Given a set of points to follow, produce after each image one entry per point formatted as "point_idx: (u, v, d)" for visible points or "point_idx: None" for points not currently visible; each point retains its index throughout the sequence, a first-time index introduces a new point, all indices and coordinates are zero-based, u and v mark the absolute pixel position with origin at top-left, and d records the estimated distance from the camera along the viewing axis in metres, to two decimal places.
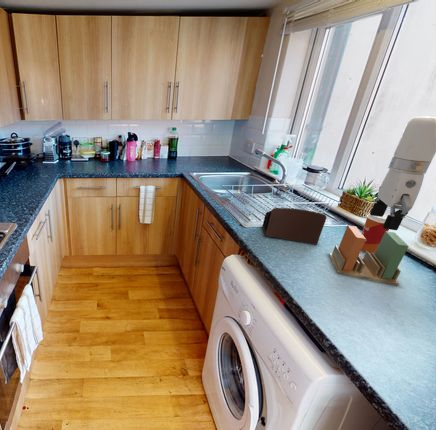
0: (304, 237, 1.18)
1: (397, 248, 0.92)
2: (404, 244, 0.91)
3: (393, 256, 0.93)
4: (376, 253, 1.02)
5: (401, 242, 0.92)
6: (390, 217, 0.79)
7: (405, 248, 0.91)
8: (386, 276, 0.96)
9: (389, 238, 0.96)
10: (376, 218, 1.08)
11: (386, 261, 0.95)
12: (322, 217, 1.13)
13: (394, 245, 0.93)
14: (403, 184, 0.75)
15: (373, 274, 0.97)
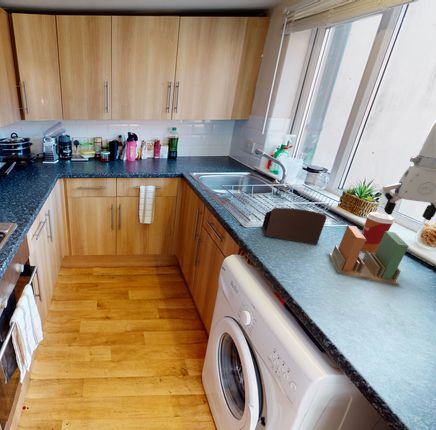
0: (304, 237, 1.18)
1: (397, 248, 0.92)
2: (404, 244, 0.91)
3: (393, 256, 0.93)
4: (376, 253, 1.02)
5: (401, 242, 0.92)
6: None
7: (405, 248, 0.91)
8: (386, 276, 0.96)
9: (389, 238, 0.96)
10: (376, 218, 1.08)
11: (386, 261, 0.95)
12: (322, 217, 1.13)
13: (394, 245, 0.93)
14: (404, 173, 0.89)
15: (373, 274, 0.97)
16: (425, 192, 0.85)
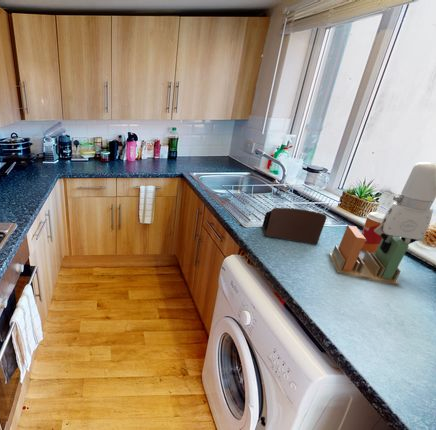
0: (304, 237, 1.18)
1: (397, 248, 0.92)
2: (404, 244, 0.91)
3: (393, 256, 0.93)
4: (377, 253, 1.02)
5: (401, 242, 0.92)
6: None
7: (405, 248, 0.91)
8: (386, 276, 0.96)
9: None
10: (376, 218, 1.08)
11: (386, 261, 0.95)
12: (322, 217, 1.13)
13: (394, 245, 0.93)
14: (388, 210, 0.94)
15: (373, 274, 0.97)
16: (407, 229, 0.90)
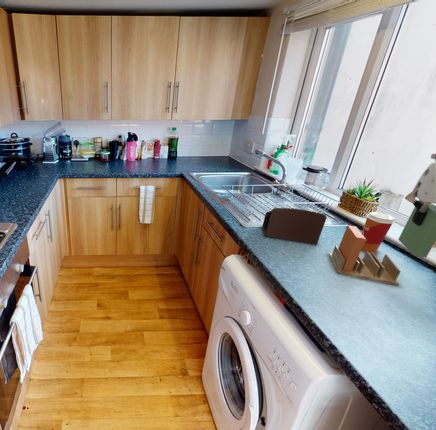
0: (304, 237, 1.18)
1: (435, 218, 0.75)
2: None
3: (429, 229, 0.76)
4: (406, 228, 0.85)
5: None
6: None
7: None
8: (420, 254, 0.79)
9: None
10: (376, 218, 1.08)
11: (420, 235, 0.78)
12: (322, 217, 1.13)
13: (431, 214, 0.76)
14: (423, 172, 0.77)
15: (373, 274, 0.97)
16: None
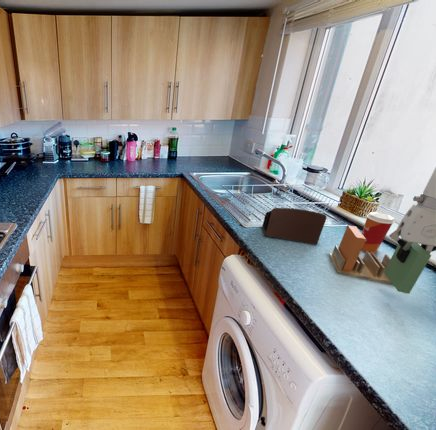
0: (304, 237, 1.18)
1: (417, 258, 0.78)
2: (426, 253, 0.77)
3: (412, 267, 0.79)
4: (391, 262, 0.88)
5: (422, 250, 0.79)
6: None
7: (427, 258, 0.77)
8: (403, 290, 0.82)
9: None
10: (376, 218, 1.08)
11: (404, 273, 0.82)
12: (322, 217, 1.13)
13: (414, 253, 0.79)
14: (406, 213, 0.80)
15: (373, 274, 0.97)
16: (430, 235, 0.77)
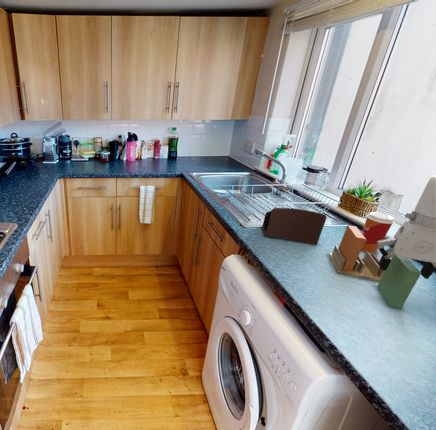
0: (304, 237, 1.18)
1: (408, 275, 0.80)
2: (416, 270, 0.80)
3: (403, 284, 0.82)
4: (384, 277, 0.91)
5: (413, 267, 0.81)
6: None
7: (417, 275, 0.79)
8: (395, 305, 0.84)
9: (398, 261, 0.85)
10: (376, 218, 1.08)
11: (395, 288, 0.84)
12: (322, 217, 1.13)
13: (405, 270, 0.81)
14: (399, 228, 0.82)
15: (373, 274, 0.97)
16: (422, 251, 0.79)
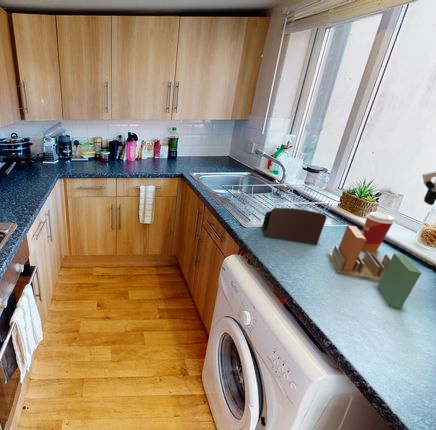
0: (304, 237, 1.18)
1: (408, 275, 0.80)
2: (416, 270, 0.80)
3: (403, 284, 0.82)
4: (384, 277, 0.91)
5: (413, 267, 0.81)
6: None
7: (417, 275, 0.79)
8: (395, 305, 0.84)
9: (398, 261, 0.85)
10: (376, 218, 1.08)
11: (395, 288, 0.84)
12: (322, 217, 1.13)
13: (405, 270, 0.81)
14: None
15: (373, 274, 0.97)
16: None
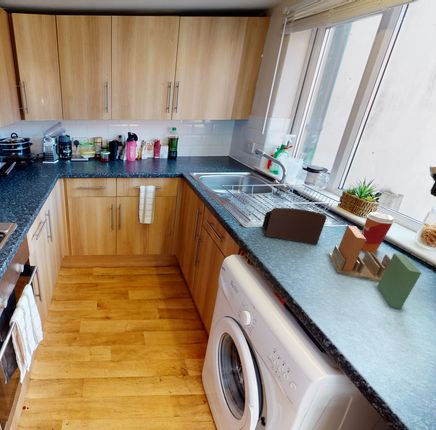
0: (304, 237, 1.18)
1: (408, 275, 0.80)
2: (416, 270, 0.80)
3: (403, 284, 0.82)
4: (384, 277, 0.91)
5: (413, 267, 0.81)
6: None
7: (417, 275, 0.79)
8: (395, 305, 0.84)
9: (398, 261, 0.85)
10: (376, 218, 1.08)
11: (395, 288, 0.84)
12: (322, 217, 1.13)
13: (405, 270, 0.81)
14: None
15: (373, 274, 0.97)
16: None
